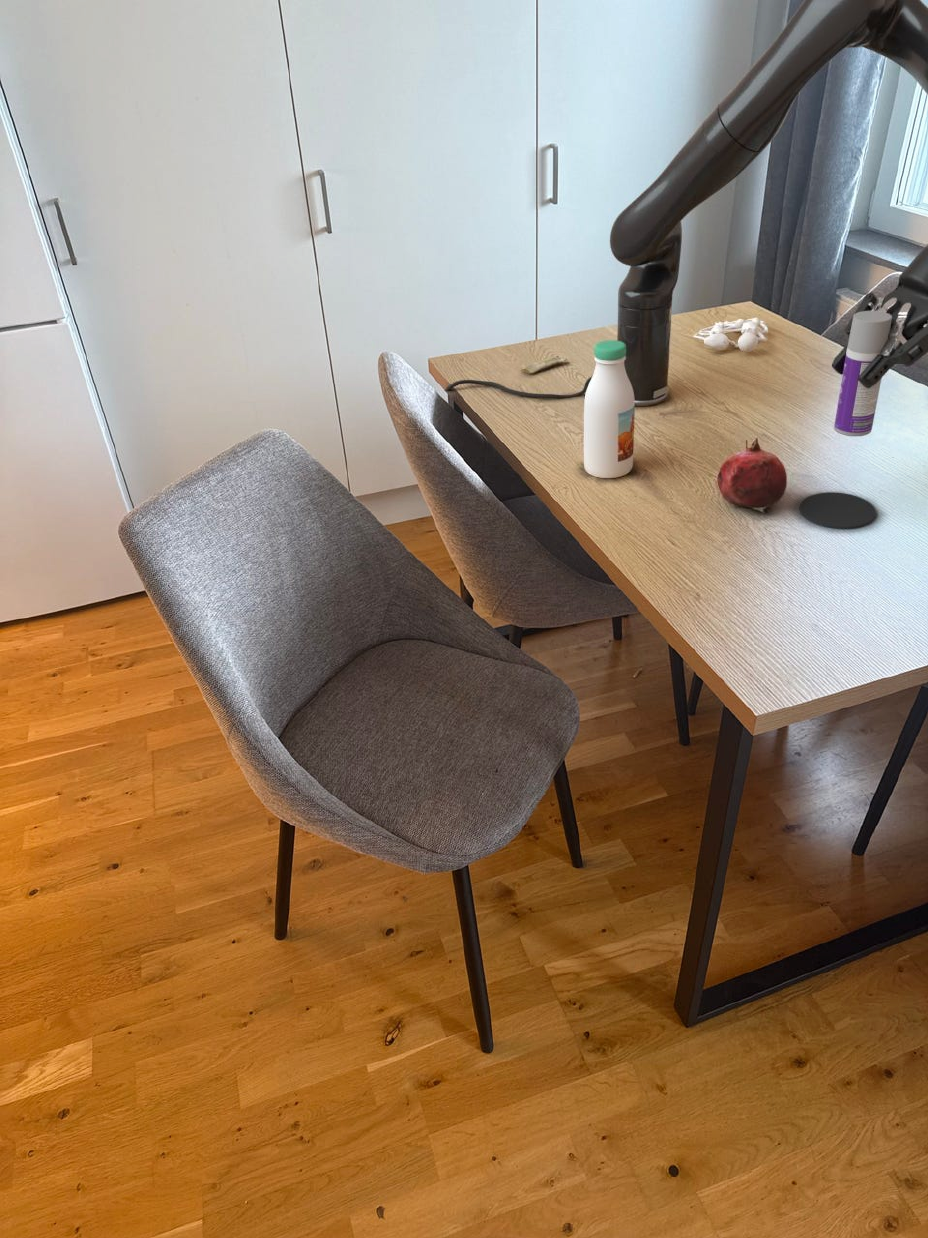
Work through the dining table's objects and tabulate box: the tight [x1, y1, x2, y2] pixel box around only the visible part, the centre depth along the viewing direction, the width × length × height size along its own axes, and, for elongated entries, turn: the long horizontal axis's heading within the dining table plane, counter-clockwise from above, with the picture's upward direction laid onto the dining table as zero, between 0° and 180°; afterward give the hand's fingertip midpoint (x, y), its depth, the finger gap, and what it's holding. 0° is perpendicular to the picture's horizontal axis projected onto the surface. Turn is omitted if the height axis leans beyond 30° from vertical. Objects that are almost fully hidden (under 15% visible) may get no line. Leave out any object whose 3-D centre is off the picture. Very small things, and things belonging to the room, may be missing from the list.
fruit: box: [716, 437, 788, 514], centre depth 129 cm, size 9×10×10 cm
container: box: [833, 311, 892, 437], centre depth 117 cm, size 5×5×15 cm
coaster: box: [799, 491, 877, 530], centre depth 128 cm, size 10×10×1 cm
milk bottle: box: [583, 339, 636, 479], centre depth 138 cm, size 8×8×20 cm
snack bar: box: [521, 355, 568, 374], centre depth 183 cm, size 10×2×3 cm
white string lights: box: [693, 317, 769, 353], centre depth 187 cm, size 19×14×4 cm
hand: (849, 376), depth 116 cm, fingers closed on container, 4 cm apart
